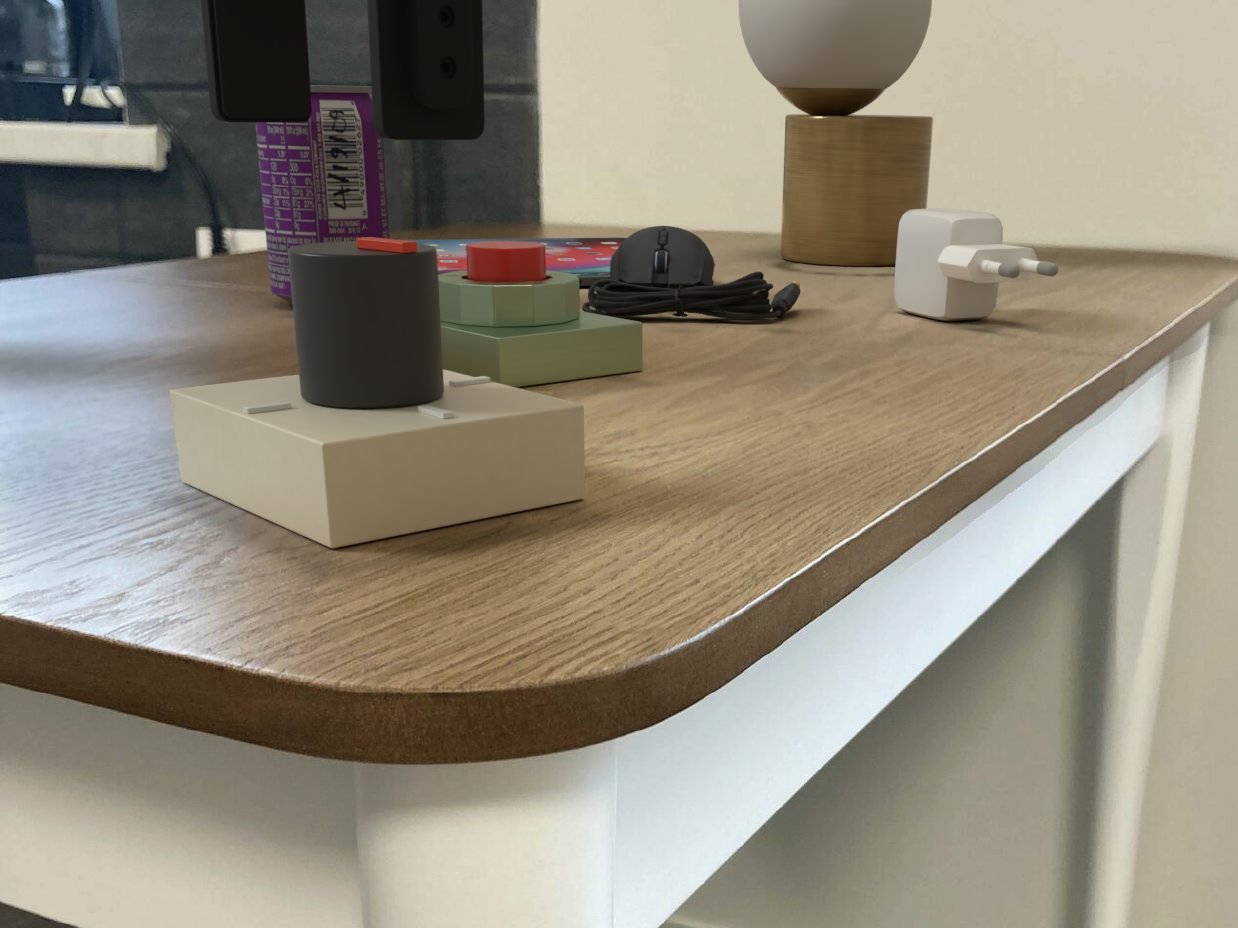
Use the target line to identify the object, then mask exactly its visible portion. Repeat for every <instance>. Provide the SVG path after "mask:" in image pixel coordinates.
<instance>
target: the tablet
mask: <svg viewBox="0 0 1238 928" xmlns="http://www.w3.org/2000/svg"><path fill="white" fill-rule="evenodd" d="M627 238H628V237H615V236H614V237H544V238H543V237H542V238H541V237H539V238H537V237H536V238H534V237H532V238H456V239H455V238H454V239H452V238H451V239H449V238H448V239H445V238H443V239H404V240H405V241H415V242H417V243H418V244H425V245H430V246H433V247H435V248H436V250H437V265H438V275H439V274H444V273H448V272H454V271H467V255H466V245H467V244H469V243H475V242H487V241H523V242H535V243H541V244H544V245H545V251H546V270H548V271H557V272H563V273H570V274H574V275H575V276H576V277H578V278H579V287H581V286H583V287H584V286H591V285H592V284H593V283H595V282H596V281H598V280H602V279H609V280H610V260H611V258H612V256H613V254H614V253H615V251H616V250H617V249H618V247H619V246H620V245H621V243H622V242H623V241H624V240H626V239H627Z"/></svg>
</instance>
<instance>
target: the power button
mask: <svg viewBox="0 0 1238 928" xmlns="http://www.w3.org/2000/svg"><path fill="white" fill-rule="evenodd" d="M466 255H467V277H468V280H473V281H484V282H530V281H542V280H546V251H545V245H544V244H541V243H535V242H523V241H487V242H475V243H469V244H467V245H466Z"/></svg>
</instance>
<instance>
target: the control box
mask: <svg viewBox="0 0 1238 928" xmlns="http://www.w3.org/2000/svg"><path fill="white" fill-rule="evenodd" d="M443 381H444V393H443V395H442V396H441V397H439V398H437V399H434V400H431V401H428V402H424V403H419V404H413V405H406V406H397V407H384V408H346V407H333V406H325V405H319V404H315V403H312V402H309V401H306V400H304V399H303V398H302V396H301V391H300V380H299V374H291V375H283V376H282V375H281V376H275V377H273V376H272V377H266V378H257V379H248V380H239V381H232V382H231V381H230V382H223V383H215V384H206V385H198V386H197V385H196V386H190V387H189V386H188V387H180V388H173V389H169V399H170V406H171V414H172V415H171V416H172V422H173V423H172V424H173V430H174V438H175V446H176V454H177V462H178V468H179V477H180V482H181V483H184V484H186V485H188V486H190V487H193V488H194V489H197V490H199V491H202V492H204V493H206V494H208V495H211V496H213V497H215V498H217V499H219V500H222V501H224V502H226V503H229V504H231V505H232V506H234V507H235V506H236V507H237V508H239V509H243V510H245V511H247V512H249V513H251V514H253V515H255V516H258V517H260V518H263V519H264V520H267V521H269V522H271V523H273V524H276V525H278V526H279V527H282V528H285V529H287V530H289V531H291V532H293V533H295V534H298V535H300V536H303V537H305V538H307V539H310V540H311V541H313V542H316V543H319V544H320V545H323V546H325V547H327V548H330V549H338V548H342V547H347V546H348V547H349V546H353V545H358V544H363V543H368V542H373V541H378V540H383V539H388V538H392V537H398V536H404V535H408V534H413V533H417V532H422V531H428V530H434V529H437V528H443V527H448V526H449V527H450V526H454V525H458V524H463V523H468V522H474V521H479V520H485V519H489V518H493V517H498V516H505V515H509V514H513V513H519V512H524V511H529V510H534V509H540V508H544V507H549V506H555V505H561V504H564V503H571V502H574V501H580V500H583V499H585V498H586V474H585V473H586V468H585V467H586V466H585V465H586V464H585V463H586V462H585V460H586V459H585V458H586V457H585V413H584V412H585V407H584V404H582V403H579V402H575V401H571V400H568V399H563V398H559V397H555V396H551V395H547V394H543V393H540V392H537V391H536V392H535V391H531V390H528V389H523V388H521V387H517V388H516V387H512V386H508V385H504V384H500V383H496V382H492V381H490V377H486V376H480V377H472V376H468V375H464V374H460V373H456V372H452V371H448V370H444V369H443Z"/></svg>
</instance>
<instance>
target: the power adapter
mask: <svg viewBox="0 0 1238 928" xmlns="http://www.w3.org/2000/svg"><path fill="white" fill-rule="evenodd" d="M1003 237H1004V227H1003V224H1002V221H1001V219H1000V218H999V217H998V216H997V215H996V214H995V213H991V212H983V211H977V210H969V209H959V208H937V207H936V208H935V207H933V208H927V209H913V210H909V211H907V212H905V213H904V214H903V216H902V217H901V220H900V222H899V228H898V238H897V250H896V265H894V266H895V267H894V268H895V269H894V283H893V286H894V287H893V299H894V302H895V304H896V306H897V308H898V309H899V310H901V311H902V312H905V313H908V314H911V315H915V316H919V317H923V318H928V319H932V320H938V321H944V322H945V321H948V322H951V321H952V322H955V321H957V322H958V321H971V320H982V319H985V318H986V319H987V318H988V317H990V316H991V315H992V314H993V313H994V311H995V309H996V307H997V302H998V301H997V299H998V295H999V285H1000V283H1010V282H1011V283H1013V282H1025V281H1026V282H1027V281H1030V279H1032V278H1033V276H1034V274H1038V275H1040V276H1047V277H1055V276H1056V275H1057V274H1058V273H1059V272H1060V269H1059V264H1057V263H1055V262H1050V261H1044V260H1042V261H1040V260H1039V259H1038V256H1037V255H1036V252H1035V249H1034V248H1031V247H1026V246H1018V245H1012V244H1006V243H1003V242H1004V238H1003Z"/></svg>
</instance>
